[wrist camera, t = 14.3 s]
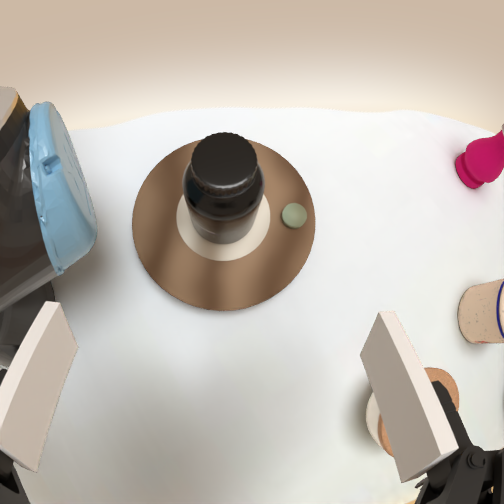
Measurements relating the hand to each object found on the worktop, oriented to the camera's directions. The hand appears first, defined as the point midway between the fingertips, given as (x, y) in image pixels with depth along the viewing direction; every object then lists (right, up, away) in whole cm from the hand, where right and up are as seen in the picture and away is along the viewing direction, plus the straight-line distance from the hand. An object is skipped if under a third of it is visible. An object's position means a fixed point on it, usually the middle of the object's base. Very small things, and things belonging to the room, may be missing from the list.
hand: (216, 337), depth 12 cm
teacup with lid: (+36, -5, +25) cm, 44 cm away
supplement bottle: (-2, +7, +21) cm, 22 cm away
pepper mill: (+38, +17, +30) cm, 51 cm away
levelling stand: (-2, +7, +24) cm, 25 cm away
